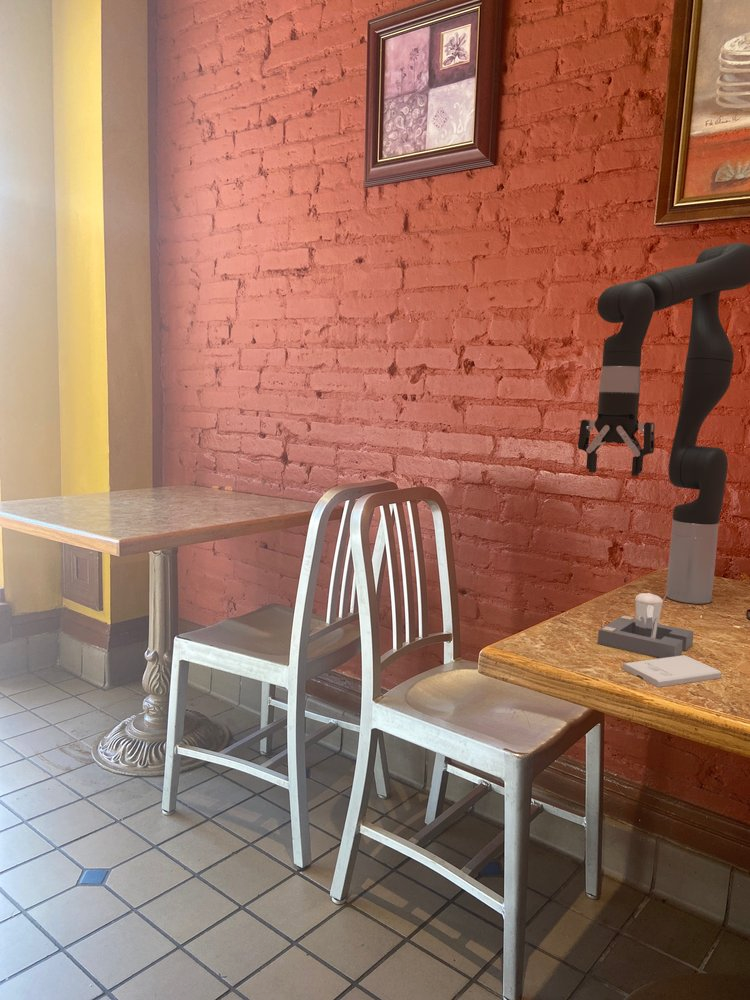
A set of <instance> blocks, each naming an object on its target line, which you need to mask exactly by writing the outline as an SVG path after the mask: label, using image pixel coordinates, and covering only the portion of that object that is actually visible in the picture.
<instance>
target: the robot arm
mask: <svg viewBox="0 0 750 1000" xmlns="http://www.w3.org/2000/svg"><path fill="white" fill-rule="evenodd" d="M749 284H750V244H748V243H743V242H735V243H734V242H733V243H730V244H729V243H728V244H723V245H719V246H712V247H709V248H706V249H703V250H702V251H701V252H700V253H699V254H698V255H697V257H696V261H695V263H692V264H687V265H682V266H679V267H678V266H677V267H673V268H670V269H666V270H662V271H660V272H657V273H654V274H652V275H649V276H647V277H644V278H641V279H638V280H632V281H628V282H623V283H619V284H615V285H612V286H609V287H607V288H606V289H604V291H603V292H602V293H601V294H600V296H599V297H598V300H597V304H596V307H597V308H596V309H597V313H598V315H599V317H600V318H601V319H603V321H605V322H607V323H612V324H619V323H620V324H621V326H620V328H619V329H620V330H619V331H618V332H617V333H616V334H612V335H610V336H607V338H606V339H605V340H604V343H603V347H602V348H603V349H602V350H603V351H602V361H601V362H602V363H601V365H602V366H601V370H600V371H601V372H600V376H599V384H598V401H597V402H598V403H597V418H596V420H591V419H586V418H585V419H582V420H581V421H580V428H579V435H578V444H577V448H578V449H579V450H582V451H583V452H586V466H585V467H586V469H587V470H588V473H592V474H593V473H596V472H597V463H598V453H597V451H598V450H599V449H600V448H601V447H602V446H603V445H604V444H605V443H607V444H612V443H615V444H619V445H620V444H625V445H626V446H627V447H628V448H629V449H630V451H631V452H632V454H633V455H634V456H633V457H632V463H631V476H632V477H639V474H641V473H642V471H643V464H644V457H645V456H647V455H650V454H653V453H654V452H655V422H651V421H649V422H648V421H647V422H639V408H640V396H641V395H640V394H641V392H640V391H641V384H642V383H641V380H642V379H641V377H642V376H641V365H642V364H641V363H642V348H643V344H644V340H645V339H646V336H647V333H648V329H649V327H650V324H651V321H652V318H653V316H654V315H653V314H654V312H659V311H661V310H665V309H667V308H670V307H673V306H676V305H679V304H681V303H683V302H686V301H689V300H692V304H691V305H692V307H691V320H690V322H691V323H690V330H689V331H690V332H689V340H688V347H687V354H686V359H685V366H684V371H683V372H684V373H683V383H682V384H683V385H682V394H681V401H680V407H679V413H678V419H677V422H676V423H677V425H676V427H675V432H674V437H673V441H672V446H671V451H670V456H669V461H668V477H669V481H670V482H669V483H671V484H672V485H673V486H674V487H677V488H682V489H690V490H698V495H697V498H696V499H695V500H692V501H690V502H686V503H681V504H677V505H676V506H674V508H673V511H672V523H671V532H670V533H671V535H670V536H671V537H670V543H669V544H670V547H669V556H668V557H669V558H668V569H667V570H668V572H667V578H666V589H665V590H666V592H665V595H666V593H667V592H668V590H669V592H668V593H667V595H666V597H667V599H670V600H672V601H677V602H681V603H685V604H686V603H687V604H696V605H697V604H698V605H700V604H702V605H704V604H709V603H711V602H712V600H713V599H712V598H713V589H714V581H715V579H714V578H715V569H716V560H717V559H716V557H717V549H718V548H717V547H718V535H719V525H720V524H719V523H720V516H721V513H722V509H723V503H724V498H725V497H724V496H725V489H726V483H727V477H728V476H727V475H728V468H729V467H728V466H729V465H728V457H727V454H726V452H725V450H724V449H722V448H720V447H713V446H701V445H697V441H698V437H699V432H700V430H701V428H702V425H703V423H704V421H705V420H706V419H707V417H708V416H709V415H710V413H711V412H712V411H713V409H714V408H715V407H716V406H717V405H718V403H719V402H720V401H721V400H722V398H723V397H724V395H725V394H726V393H727V391H728V389H729V387H730V384H731V380H732V373H733V365H734V359H735V353H734V350H733V347H732V346H733V345H732V344H731V342H730V340H729V339H730V338H729V337H728V335H727V333H726V331H725V329H724V327H723V325H722V322H721V320H720V314H719V310H720V309H719V308H720V307H719V305H720V304H719V303H720V296H721V292H725V291H733V290H737V289H741V288H743V287H746V286H747V285H749ZM594 428H595V430H596V431H597V432H598V433H597V434H596V436H595V437H594V438H593V439H592V441H591V443H590V437H591V432H592V431H593V430H594ZM639 430H640V432H641V434H643V447H642V446H641V444H640V442H639V440H638V439H637V436H635V434H636V433H637V432H638V431H639Z"/></svg>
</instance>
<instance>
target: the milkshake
mask: <svg viewBox="0 0 750 1000" xmlns="http://www.w3.org/2000/svg"><path fill="white" fill-rule="evenodd" d="M668 592H669V590H668ZM668 592H667V593H668ZM667 593H666V592H665V595H664V597H663V598H662V597H660V596H659V595H656V594H653V593H651V592H650V593H649V592H647V593H646V592H642V593H641V592H640V593H639V594H637V595H636V597H635V599H634V602H635V606H634V607H635V608H634V609H635V619H636V634H637V635H641V636H646V637H651V638H655V639H656V637H657V631H658V625H659V624H660V620H661V619H660V618H661V614H662V609H663V604H664V601H665V599H666V597H667V596H666V595H667Z"/></svg>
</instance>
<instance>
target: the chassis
mask: <svg viewBox="0 0 750 1000" xmlns="http://www.w3.org/2000/svg"><path fill="white" fill-rule="evenodd" d="M694 633H695V631H694V630H690V629H685V628H680V627H675V626H670V625H665V624H660V623H659V625H658V631H657V637H656V639H655V638H651V637H646V636H641V635H637V634H636V618H635V617H633V616H629V615H623V616H619V617H617V618H616V619H614V620H612V621H610V622H609V623H608V624H606V625H604V626H603V627H601V628H599V629H598V634H597V644H599V645H603V646H606V647H612V648H616V649H621V650H625V651H629V652H634V653H636V654H637V653H638V654H642V655H645V656H650V657H655V658H657V659H660V658H667V657H674V656H681V655H682V654H683V653H682V652H686V651H687V650H688V649H689V648H690V647H691V646H693V641H694Z"/></svg>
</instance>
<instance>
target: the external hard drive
mask: <svg viewBox="0 0 750 1000" xmlns="http://www.w3.org/2000/svg"><path fill="white" fill-rule="evenodd" d="M621 669H622V670H624V671H625V672H627V673H630V674H632V675H634V676H635V677H638V678H640V679H642V680H644V681H645V682H647V683H649V684H651V685H652V686H655V687H657V688H663V687H671V686H677V685H678V686H679V685H684V684H691V683H696V682H705V681H710V680H711V681H712V680H718V679H722V674H723V673H722V671H720V670H719V669H716V668H714V667H712V666H710V665H707V664H705V663H704V662H701V661H698V660H696V659H694V658H692V657H690V656H687V655H682V654H681V655H680V656H674V657H667V658H653V659H647V660H640V661H639V660H638V661H632V662H623V663H622V664H621Z"/></svg>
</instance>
